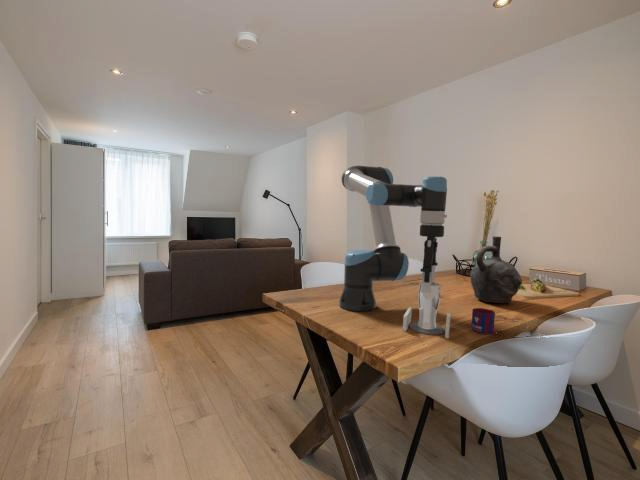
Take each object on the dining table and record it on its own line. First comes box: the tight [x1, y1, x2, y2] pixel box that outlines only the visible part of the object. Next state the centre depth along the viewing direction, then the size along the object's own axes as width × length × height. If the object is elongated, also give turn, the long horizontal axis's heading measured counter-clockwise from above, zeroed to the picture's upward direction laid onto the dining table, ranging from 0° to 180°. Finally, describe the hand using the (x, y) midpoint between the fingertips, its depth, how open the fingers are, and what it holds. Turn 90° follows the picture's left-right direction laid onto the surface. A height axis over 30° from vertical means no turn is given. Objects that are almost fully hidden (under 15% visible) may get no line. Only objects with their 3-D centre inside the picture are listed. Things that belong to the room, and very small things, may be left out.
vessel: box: [469, 236, 523, 304], centre depth 146 cm, size 24×22×30 cm
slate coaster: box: [409, 321, 445, 336], centre depth 108 cm, size 11×11×1 cm
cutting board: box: [514, 278, 580, 299], centre depth 170 cm, size 35×23×8 cm
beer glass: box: [417, 281, 441, 331], centre depth 107 cm, size 7×7×15 cm
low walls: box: [402, 306, 452, 339], centre depth 108 cm, size 14×12×5 cm
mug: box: [471, 307, 496, 335], centre depth 108 cm, size 7×10×7 cm
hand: (428, 287), depth 107 cm, fingers open, 13 cm apart
